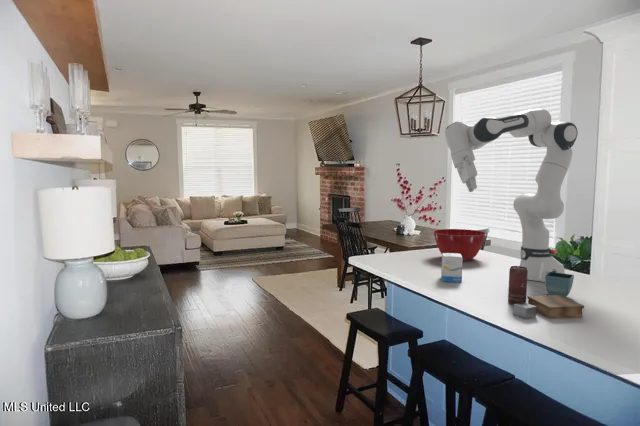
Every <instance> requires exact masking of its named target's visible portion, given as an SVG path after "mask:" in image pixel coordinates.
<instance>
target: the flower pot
mask: <svg viewBox="0 0 640 426" xmlns="http://www.w3.org/2000/svg"><path fill="white" fill-rule="evenodd" d="M574 279H575V275H574V274H570V273H565V274H563V273H556V272H549V273H547V274H546V275H545V282H544V283H545V289H546V293H547V294H548V295H560V296H563V297H565V298H568V296H569V294H570V292H571V291H572V288H573V283H574Z"/></svg>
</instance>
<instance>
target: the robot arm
mask: <svg viewBox="0 0 640 426" xmlns="http://www.w3.org/2000/svg"><path fill="white" fill-rule="evenodd" d="M506 133H509V134H510V136H512V137H514V138H525V137H528V141H529V143H530V145H532V146H533V147H535V148H536V147H537V148H546V154H545V155H544V157H543V159H542V162H541V165H540V167H539V168H538V171H537V173H536V176H535V182H536V184H537V190H536V191H537V192H536V193H531V192H530V193H529V192H528V193H524V194H522V193H521V194H519V195H518V196H516V198H515V199H514V201H513V209H514V211H515V212H516V214H517V215H518V218H519V220H520V224H521V225H520V226H521V230H522V236H521V238H522V240H521V241H522V242H521V246H520V262H519V266H522V267H526V268H527V270H528V275H527V281H528V280H530V281H537V282H542V283H545V275H546V274H547V273H549V272H556V273H563V274H566V271H565V267H564V265H563V264H562V263H561V262H560V261H558V260H557V259H556V258H555V257H554V256H553V255H556V254H557V252H558V251H557V250H556V249H554V248H552V249H551V248H550V246H549V245H550V231H549V229H548V228H547V227H546V225H545V222H544V220H552V219H553V220H555V219H557V218H559V217H561V216H562V215H563V212H564V210H565V205H564V202H563V200H562V199H561V188H562V185H563V182H564V180H565V177H566V174H567V172H568V170H569V168H570V166H571V162H572V158H573V149H572V147H573V146H574V145H575V142H576V140H577V139H578V134H579V133H578V128H577V125H576V124H575V123H573V122H570V121H554V122H553V121H552V115H551V113H550V112H549V111H548V109H545V108H533V109H527V110H523V111H520V112H517V113H514V114H512V115H508V116H504V117H493V116H485V117H482V118H481V119H479V120H478V122H476V123H475V124H473V125H469V124H466V123H464V122H463V121H462V120H457V121H455V122H452V123H451V124H449V125H448V126H447V127H445V130H444V135H445V141H446V143H447V147H448V149H449V151H450V157H451V160H452V163H453V166H454V168H455V169H456V170H457V174H458V176H459V178H460V181H461V182H462V184H465V185H466V187H467V189H468V192H469V193H472V192H474V190H476V189H478V185H477V180H476V177H477V176H478V170H477V167H476V166H475V162H474V161H475V160H476V157H475V153H474V151H475V150H479V149H480V148H482V147H484V146H486V145H487V144H489V143H491V142H493V141H495V140H497V139H499V138H500V136H501V135H502V134H506Z"/></svg>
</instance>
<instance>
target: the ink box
mask: <svg viewBox="0 0 640 426" xmlns="http://www.w3.org/2000/svg"><path fill="white" fill-rule="evenodd" d="M463 262H464V261H463V257H462V255H461V254H458V253H442V254H441V275H440V277H441V280H442V282H447V283H449V282H451V283H462V282H463Z"/></svg>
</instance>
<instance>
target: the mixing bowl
mask: <svg viewBox="0 0 640 426" xmlns="http://www.w3.org/2000/svg"><path fill="white" fill-rule="evenodd" d="M432 233H433V235H434V240H435V243H436V246H437V249H438V250H439V252H440V254H441V255H442V253H458V254H461V255H462V257H463V262H465V261H470V260H472V259H474V258H475V257H476V256H477V255H478V253H479V251H480V250H481V248H482V246H483V244H484V240H485V237H486V234H487V233H486V232H485V231H481V230H476V229H465V228H464V229H463V228H462V229H461V228H459V229H458V228H443V229H436V230H433V231H432Z"/></svg>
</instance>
